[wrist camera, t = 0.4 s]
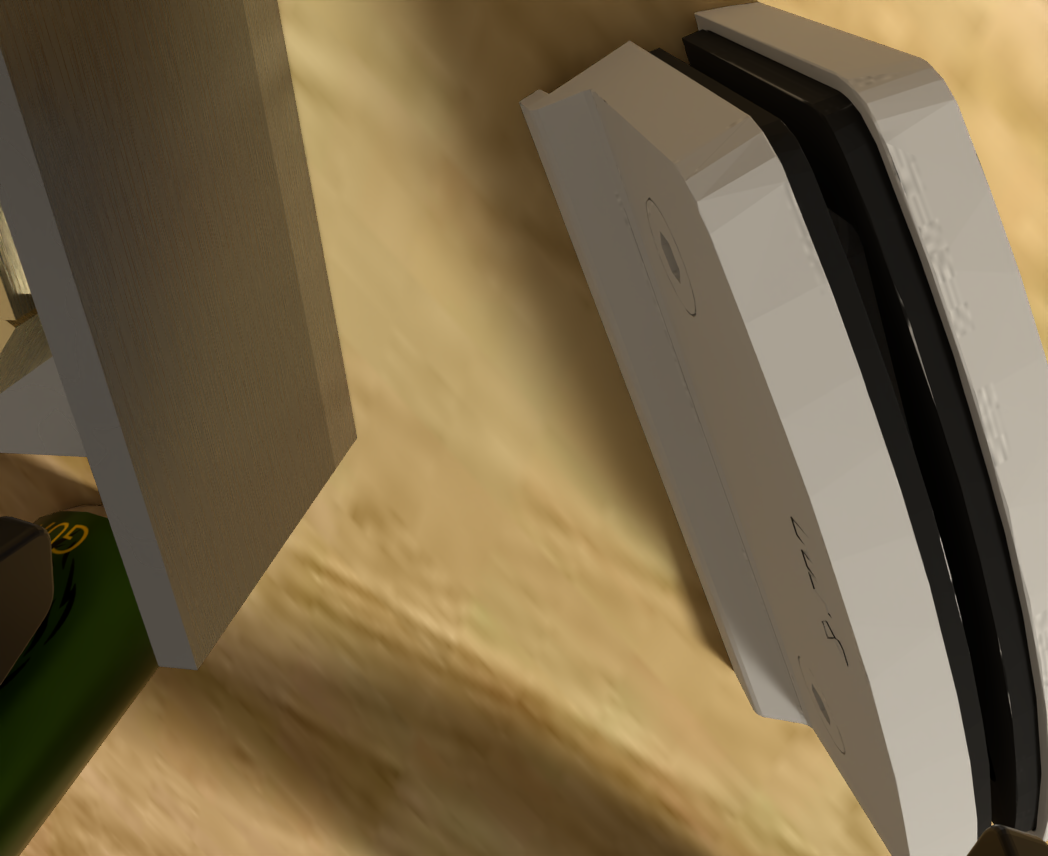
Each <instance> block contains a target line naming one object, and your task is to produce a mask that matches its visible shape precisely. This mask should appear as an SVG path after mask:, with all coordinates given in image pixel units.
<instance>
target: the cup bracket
mask: <svg viewBox="0 0 1048 856" xmlns="http://www.w3.org/2000/svg"><path fill="white" fill-rule="evenodd" d="M356 439H357V435H356V430H355V424H354V419H353V413H352V408H351V402H350V397H349V391H348V386H347V380H346V375H345V369H344V364H343V358H342V353H341V348H340V342H339V337H338V331H337V326H336V320H335V315H334V309H333V304H332V298H331V293H330V287H329V282H328V276H327V271H326V265H325V260H324V255H323V249H322V244H321V238H320V233H319V227H318V222H317V216H316V211H315V205H314V200H313V194H312V189H311V183H310V178H309V172H308V167H307V162H306V156H305V151H304V145H303V140H302V134H301V129H300V123H299V118H298V112H297V107H296V101H295V96H294V90H293V85H292V79H291V74H290V69H289V63H288V58H287V52H286V47H285V41H284V36H283V30H282V25H281V19H280V14H279V8H278V3H277V0H0V453H17V454H37V455H58V456H79V457H87V458H88V461H89V464H90V467H91V470H92V473H93V476H94V479H95V482H96V485H97V488H98V491H99V493H100V496H101V499H102V502H103V505H104V508H105V511H106V514H107V517H108V520H109V523H110V526H111V529H112V531H113V534H114V537H115V540H116V543H117V546H118V549H119V552H120V555H121V558H122V561H123V564H124V567H125V570H126V572H127V575H128V578H129V581H130V584H131V587H132V590H133V593H134V596H135V599H136V602H137V605H138V608H139V610H140V613H141V616H142V619H143V622H144V625H145V628H146V631H147V634H148V637H149V640H150V643H151V646H152V648H153V651H154V654H155V657H156V660H157V663H158V666H161V667H171V668H181V669H192V670H198V669H199V667H200V666H201V664H202V663H203V661H204V660H205V659H206V657H207V656H208V654H209V653H210V651H211V650H212V648H213V647H214V645H215V644H216V643H217V641H218V640H219V638H220V637H221V635H222V634H223V632H224V631H225V629H226V628H227V626H228V625H229V624H230V622H231V621H232V619H233V618H234V616H235V615H236V613H237V612H238V610H239V609H240V608H241V606H242V605H243V603H244V602H245V600H246V599H247V597H248V596H249V594H250V593H251V592H252V590H253V589H254V587H255V586H256V584H257V583H258V581H259V580H260V578H261V577H262V576H263V574H264V573H265V571H266V570H267V568H268V567H269V565H270V564H271V562H272V561H273V560H274V558H275V557H276V555H277V554H278V552H279V551H280V549H281V548H282V546H283V545H284V543H285V542H286V541H287V539H288V538H289V536H290V535H291V533H292V532H293V530H294V529H295V527H296V526H297V525H298V523H299V522H300V520H301V519H302V517H303V516H304V514H305V513H306V511H307V510H308V509H309V507H310V506H311V504H312V503H313V501H314V500H315V498H316V497H317V495H318V494H319V493H320V491H321V490H322V488H323V487H324V485H325V484H326V482H327V481H328V479H329V478H330V476H331V475H332V474H333V472H334V471H335V469H336V468H337V466H338V465H339V463H340V462H341V460H342V459H343V458H344V456H345V455H346V453H347V452H348V450H349V449H350V447H351V446H352V444H353V443H354V442H355V440H356Z"/></svg>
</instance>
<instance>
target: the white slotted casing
mask: <svg viewBox="0 0 1048 856" xmlns="http://www.w3.org/2000/svg"><path fill="white" fill-rule="evenodd" d="M694 14H695V18H696V22H697V26H698V29H699V31H697V32H695V33H693V34H690V35H688V36H686V37H684V38H682V40H683V43H684V46H685V50H686V53H687V56H688V60H689V63H690V66H689V65H688V64H686V63H684V62H683V61H681V60H679V59H677V58H676V57H674V56H672V55H671V54H669V53H667V52H666V51H664V50H662V49H660V48H658V49H656V50H653V51H651V52H647V51H646V50H644V49H642V48H641V47H639V46H638V45H636V44H634V43H633V42H631V41H628V42H627V43H625V44H624V45H622V46H621V47H619V48H618V49H616V50H615V51H613V52H612V53H610V54H609V55H607V56H606V57H604V58H603V59H601V60H600V61H598V62H597V63H595V64H594V65H592V66H591V67H589V68H588V69H586V70H585V71H583V72H582V73H580V74H579V75H577V76H576V77H574V78H573V79H571V80H570V81H568V82H567V83H565V84H564V85H562V86H560V87H559V88H557V89H556V90H554V91H553V92H551V93H550V94H548V93H546V92H544V91H542V90H540V89H539V90H537V91H535V92H534V93H532V94H531V95H529V96H527V97H526V98H524V99H523V100H521V101H519V104H520V106H521V109H522V112H523V114H524V117H525V120H526V122H527V125H528V128H529V130H530V133H531V135H532V138H533V141H534V143H535V146H536V149H537V151H538V154H539V157H540V159H541V162H542V165H543V167H544V170H545V172H546V175H547V178H548V180H549V183H550V186H551V188H552V191H553V194H554V196H555V199H556V202H557V204H558V207H559V209H560V212H561V215H562V217H563V220H564V223H565V225H566V228H567V231H568V233H569V236H570V239H571V241H572V244H573V246H574V249H575V252H576V254H577V257H578V260H579V262H580V265H581V268H582V270H583V273H584V275H585V278H586V281H587V283H588V286H589V289H590V291H591V294H592V297H593V299H594V302H595V305H596V307H597V310H598V312H599V315H600V318H601V320H602V323H603V326H604V328H605V331H606V334H607V336H608V339H609V342H610V344H611V347H612V349H613V352H614V355H615V357H616V360H617V363H618V365H619V368H620V371H621V373H622V376H623V379H624V381H625V384H626V386H627V389H628V392H629V394H630V397H631V400H632V402H633V405H634V408H635V410H636V413H637V416H638V418H639V421H640V423H641V426H642V429H643V431H644V434H645V437H646V439H647V442H648V445H649V447H650V450H651V452H652V455H653V458H654V460H655V463H656V466H657V468H658V471H659V474H660V476H661V479H662V482H663V484H664V487H665V489H666V492H667V495H668V497H669V500H670V503H671V505H672V508H673V511H674V513H675V516H676V519H677V521H678V524H679V526H680V529H681V532H682V534H683V537H684V540H685V542H686V545H687V548H688V550H689V553H690V556H691V558H692V561H693V563H694V566H695V569H696V571H697V574H698V577H699V579H700V582H701V585H702V587H703V590H704V593H705V595H706V598H707V600H708V603H709V606H710V608H711V611H712V614H713V616H714V619H715V622H716V624H717V627H718V630H719V632H720V635H721V637H722V640H723V643H724V645H725V648H726V651H727V653H728V656H729V659H730V661H731V664H732V666H733V669H734V672H735V674H736V676H737V678H738V680H739V682H740V684H741V686H742V688H743V690H744V692H745V694H746V696H747V698H748V700H749V702H750V704H751V706H752V708H753V710H754V711H755V712H756V713H757V714H758V715H760V716H762V717H767V718H773V719H779V720H784V721H790V722H796V723H802V724H806V725H808V726H810V727H811V728H813V730H814V731H815V733H816V734H817V736H818V738H819V739H820V741H821V742H822V744H823V746H824V747H825V749H826V750H827V752H828V754H829V755H830V757H831V759H832V760H833V762H834V763H835V765H836V767H837V768H838V770H839V771H840V773H841V775H842V776H843V778H844V779H845V781H846V783H847V784H848V786H849V788H850V789H851V791H852V792H853V794H854V796H855V797H856V799H857V800H858V802H859V804H860V805H861V807H862V808H863V810H864V812H865V813H866V815H867V817H868V818H869V820H870V821H871V823H872V825H873V826H874V828H875V829H876V831H877V833H878V834H879V836H880V837H881V839H882V841H883V842H884V844H885V846H886V847H887V849H888V850H889V852H890V854H891V855H892V856H967V854H968V853H969V851H970V850H971V849H972V847H973V846H974V845H975V843H976V842H977V840H978V839H979V838H980V836H981V835H982V833H983V832H984V831H985V830H986V829H987V828H988V827H990V826H991V821H992V822H993V823H994V825H995V824H996V825H1004V826H1007V827H1010V828H1013V829H1017V830H1020V831H1023V832H1026V833H1029V834H1033V835H1035V836H1037V837H1039V838H1041V839H1042V840H1043V841H1045V842H1046V841H1047V840H1048V364H1047V361H1046V357H1045V353H1044V350H1043V347H1042V344H1041V340H1040V337H1039V334H1038V331H1037V327H1036V324H1035V321H1034V318H1033V314H1032V311H1031V308H1030V305H1029V301H1028V298H1027V295H1026V292H1025V288H1024V285H1023V282H1022V278H1021V275H1020V272H1019V269H1018V267H1017V264H1016V261H1015V258H1014V255H1013V252H1012V250H1011V247H1010V244H1009V241H1008V238H1007V235H1006V233H1005V230H1004V227H1003V224H1002V221H1001V219H1000V216H999V213H998V210H997V207H996V204H995V202H994V199H993V196H992V193H991V190H990V188H989V185H988V182H987V180H986V177H985V175H984V172H983V169H982V167H981V164H980V161H979V159H978V156H977V154H976V151H975V148H974V146H973V143H972V140H971V138H970V135H969V133H968V130H967V127H966V125H965V122H964V120H963V117H962V114H961V112H960V109H959V106H958V104H957V102H956V100H955V98H954V96H953V95H952V93H951V91H950V90H949V88H948V86H947V85H946V83H945V81H944V79H943V78H942V77H941V76H940V75H939V74H938V73H937V72H936V71H935V70H934V68H933V67H932V66H931V65H930V64H929V63H928V62H927V61H925V60H923V59H921V58H919V57H916V56H914V55H911V54H908V53H905V52H902V51H899V50H896V49H893V48H890V47H887V46H885V45H882V44H879V43H876V42H873V41H870V40H867V39H864V38H861V37H858V36H856V35H853V34H850V33H847V32H844V31H841V30H838V29H835V28H832V27H829V26H827V25H824V24H821V23H818V22H815V21H812V20H809V19H806V18H803V17H800V16H798V15H795V14H792V13H789V12H786V11H783V10H780V9H777V8H774V7H771V6H769V5H766V4H763V3H760V2H756V3H748V4H740V5H733V6H727V7H721V8H716V9H711V10H705V11H700V12H695V13H694Z"/></svg>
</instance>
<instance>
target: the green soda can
mask: <svg viewBox="0 0 1048 856" xmlns="http://www.w3.org/2000/svg"><path fill="white" fill-rule="evenodd" d="M33 524H36V525H39V526H42V527H43V528H45V529H46V530H47V531H48V533H49V535H50V539H51V550H52V566H53V583H54V594H53V600H52V603H51V606H50V609H49V611H48V613H47V615H46V617H45V618H44V620H43V621H42V623H41V625H40V626H39V628H38V629H37V631H36V632H35V634H34V635H33V637H32V638H31V640H30V641H29V643H28V644H27V646H26V647H25V649H24V650H23V652H22V653H21V655H20V656H19V658H18V659H17V661H16V662H15V664H14V665H13V667H12V669H11V670H10V672H9V673H8V675H7V676H6V678H5V679H4V681H3V682H2V684H1V685H0V856H20V854H21V853H22V851H23V850H24V849H25V847H26V846H27V845H28V843H29V842H30V841H31V839H32V838H33V837H34V835H35V834H36V833H37V831H38V830H39V828H40V827H41V826H42V824H43V823H44V822H45V820H46V819H47V818H48V816H49V815H50V814H51V812H52V811H53V809H54V808H55V807H56V805H57V804H58V803H59V801H60V800H61V799H62V797H63V796H64V795H65V793H66V792H67V791H68V789H69V788H70V786H71V785H72V784H73V782H74V781H75V780H76V778H77V777H78V776H79V774H80V773H81V772H82V770H83V769H84V767H85V766H86V765H87V763H88V762H89V761H90V759H91V758H92V757H93V755H94V754H95V753H96V751H97V750H98V748H99V747H100V746H101V744H102V743H103V742H104V740H105V739H106V738H107V736H108V735H109V734H110V732H111V731H112V730H113V728H114V727H115V725H116V724H117V723H118V721H119V720H120V719H121V717H122V716H123V715H124V713H125V712H126V711H127V709H128V708H129V706H130V705H131V704H132V702H133V701H134V700H135V698H136V697H137V696H138V694H139V693H140V692H141V690H142V689H143V688H144V686H145V685H146V683H147V682H148V681H149V679H150V678H151V677H152V675H153V674H154V673H155V671H156V670H157V669H158V667H159V666H158V663H157V660H156V657H155V654H154V651H153V648H152V646H151V643H150V640H149V637H148V634H147V631H146V628H145V625H144V622H143V619H142V616H141V613H140V610H139V608H138V605H137V602H136V599H135V596H134V593H133V590H132V587H131V584H130V581H129V578H128V575H127V572H126V570H125V567H124V564H123V561H122V558H121V555H120V552H119V549H118V546H117V543H116V540H115V537H114V534H113V531H112V529H111V526H110V523H109V520H108V517H107V514H106V511H105V508H104V506H90V505H80V506H77V507H73V508H69V509H66V510H62V511H59V512H56V513H53V514H50V515H46V516H43V517H40V518H39V519H38V520H36V521H35V522H34V523H33Z"/></svg>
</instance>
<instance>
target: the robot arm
mask: <svg viewBox="0 0 1048 856" xmlns="http://www.w3.org/2000/svg"><path fill="white" fill-rule="evenodd" d="M53 594H54V583H53V566H52V550H51V539H50V535H49V533H48V531H47V530H46V529H45V528H43V527H42V526H39V525H36V524H33V523H30V522H27V521H23V520H20V519H17V518H14V517H7V516H5V517H0V685H1V684H2V682H3V681H4V679H5V678H6V676H7V675H8V673H9V672H10V670H11V669H12V667H13V665H14V664H15V662H16V661H17V659H18V658H19V656H20V655H21V653H22V652H23V650H24V649H25V647H26V646H27V644H28V643H29V641H30V640H31V638H32V637H33V635H34V634H35V632H36V631H37V629H38V628H39V626H40V625H41V623H42V621H43V620H44V618H45V617H46V615H47V613H48V611H49V609H50V606H51V603H52V600H53ZM967 856H1048V845H1047V843H1046V842H1045V841H1043V840H1042V839H1041V838H1039V837H1037V836H1035V835H1033V834H1029V833H1026V832H1023V831H1020V830H1017V829H1013V828H1010V827H1007V826H1004V825H996V824H995V825H992V826H990V827H988V828H987V829H986V830H985V831H984V832H983V833H982V835H981V836H980V838H979V839H978V840H977V842H976V843H975V845H974V846H973V847H972V849H971V850H970V851H969V853H968V854H967Z"/></svg>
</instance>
